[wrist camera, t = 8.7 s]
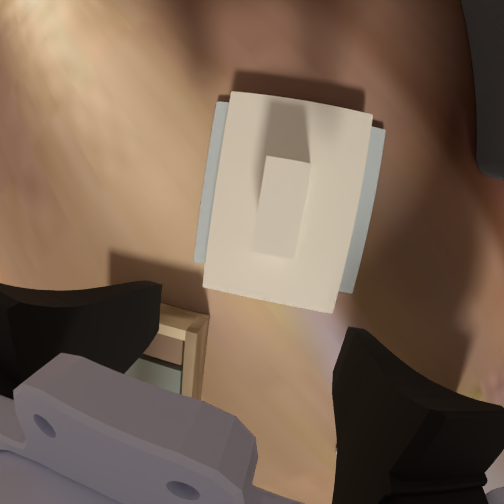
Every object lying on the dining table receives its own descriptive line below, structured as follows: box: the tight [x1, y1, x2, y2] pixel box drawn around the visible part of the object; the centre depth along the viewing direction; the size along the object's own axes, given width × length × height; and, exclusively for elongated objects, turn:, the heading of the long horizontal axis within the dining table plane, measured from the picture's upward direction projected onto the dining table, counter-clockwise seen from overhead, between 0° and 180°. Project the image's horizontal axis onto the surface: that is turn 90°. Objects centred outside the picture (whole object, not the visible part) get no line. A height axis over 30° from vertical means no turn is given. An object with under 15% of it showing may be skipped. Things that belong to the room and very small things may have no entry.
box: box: [124, 303, 210, 400], centre depth 24 cm, size 8×12×3 cm, turn 171°
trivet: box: [194, 101, 386, 294], centre depth 20 cm, size 11×11×1 cm
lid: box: [202, 91, 373, 314], centre depth 18 cm, size 9×13×5 cm
